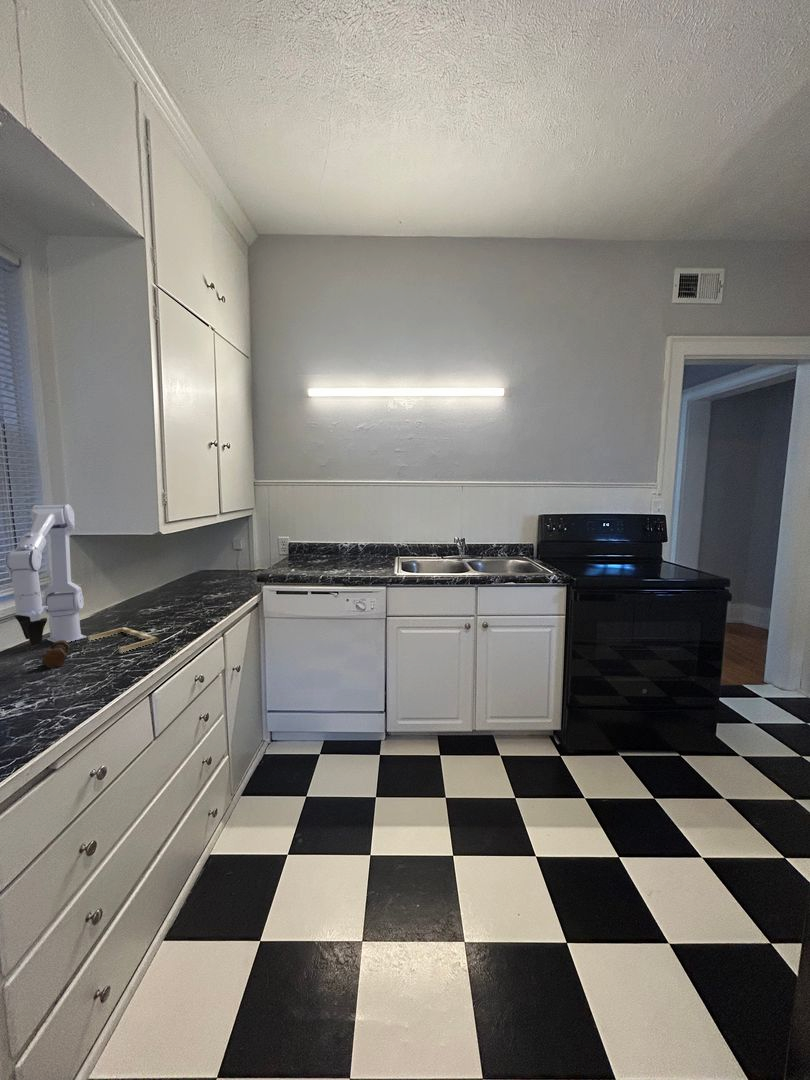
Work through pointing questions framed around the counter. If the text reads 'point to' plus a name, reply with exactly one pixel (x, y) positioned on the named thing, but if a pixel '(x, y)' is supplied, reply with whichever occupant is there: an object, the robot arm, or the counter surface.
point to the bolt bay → (148, 638)
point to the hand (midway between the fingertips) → (33, 641)
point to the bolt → (56, 654)
